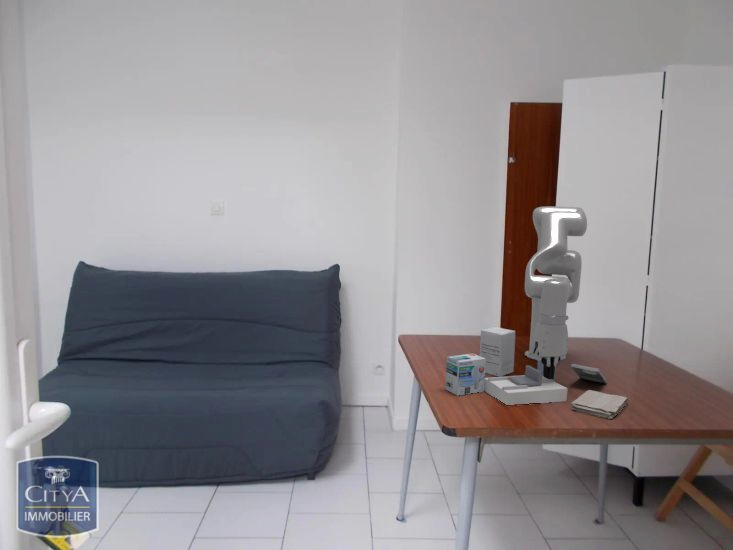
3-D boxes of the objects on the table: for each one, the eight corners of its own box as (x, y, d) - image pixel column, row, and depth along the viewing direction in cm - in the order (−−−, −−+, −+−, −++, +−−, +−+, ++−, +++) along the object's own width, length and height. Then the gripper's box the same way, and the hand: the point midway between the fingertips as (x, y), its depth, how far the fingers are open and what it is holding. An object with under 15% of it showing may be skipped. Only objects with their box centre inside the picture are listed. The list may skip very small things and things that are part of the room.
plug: (546, 382, 175) (549, 348, 174) (554, 386, 171) (556, 351, 170) (536, 383, 174) (538, 349, 172) (543, 387, 170) (545, 352, 169)
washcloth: (568, 411, 150) (569, 401, 150) (586, 395, 164) (587, 386, 164) (613, 422, 143) (614, 411, 143) (628, 404, 157) (629, 394, 157)
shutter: (528, 377, 165) (529, 365, 165) (541, 385, 158) (542, 372, 158) (508, 379, 163) (509, 366, 163) (521, 386, 156) (521, 373, 156)
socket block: (539, 386, 171) (540, 371, 170) (566, 401, 157) (567, 385, 157) (483, 390, 165) (484, 375, 165) (507, 406, 152) (508, 390, 151)
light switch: (607, 377, 176) (599, 366, 165) (604, 395, 174) (595, 384, 164) (581, 372, 181) (571, 360, 170) (577, 389, 180) (567, 378, 169)
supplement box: (491, 366, 192) (494, 326, 190) (514, 372, 185) (516, 330, 184) (477, 371, 185) (480, 329, 184) (500, 377, 179) (502, 334, 177)
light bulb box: (457, 396, 159) (459, 361, 158) (444, 389, 165) (445, 356, 164) (485, 391, 164) (487, 358, 163) (471, 385, 170) (473, 352, 169)
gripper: (565, 316, 166) (561, 372, 169) (524, 318, 162) (520, 375, 164) (581, 321, 159) (576, 380, 161) (538, 323, 155) (534, 383, 157)
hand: (548, 377), depth 163 cm, fingers closed
